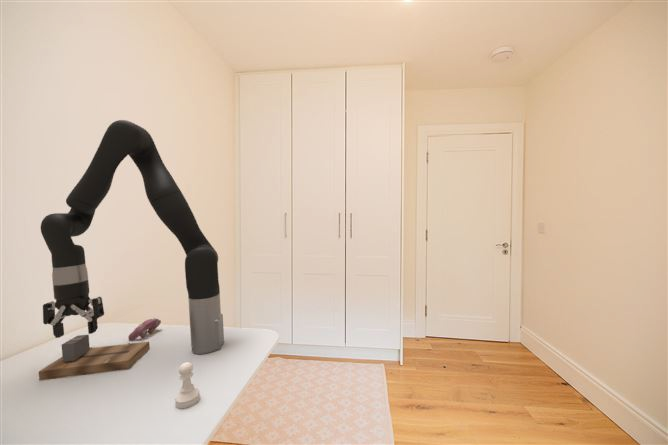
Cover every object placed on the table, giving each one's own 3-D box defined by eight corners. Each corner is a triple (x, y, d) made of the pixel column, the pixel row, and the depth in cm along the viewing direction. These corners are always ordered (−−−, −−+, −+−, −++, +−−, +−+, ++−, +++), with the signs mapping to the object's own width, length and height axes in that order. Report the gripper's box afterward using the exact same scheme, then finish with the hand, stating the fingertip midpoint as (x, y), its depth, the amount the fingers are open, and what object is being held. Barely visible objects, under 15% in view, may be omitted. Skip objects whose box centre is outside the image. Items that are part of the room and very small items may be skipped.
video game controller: (136, 346, 96) (142, 328, 95) (125, 339, 97) (132, 322, 96) (158, 333, 106) (164, 318, 105) (149, 328, 106) (155, 312, 106)
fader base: (149, 348, 90) (149, 340, 90) (129, 369, 78) (128, 359, 78) (73, 357, 86) (72, 349, 86) (39, 380, 74) (38, 370, 74)
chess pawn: (194, 391, 66) (192, 355, 66) (203, 399, 63) (201, 361, 63) (171, 403, 63) (169, 364, 62) (180, 412, 59) (178, 372, 59)
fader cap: (89, 350, 84) (88, 334, 84) (74, 360, 78) (73, 343, 78) (78, 351, 84) (77, 335, 83) (62, 361, 78) (61, 344, 77)
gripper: (106, 275, 85) (111, 326, 86) (54, 280, 83) (59, 332, 83) (89, 281, 78) (94, 337, 78) (31, 286, 75) (36, 343, 76)
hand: (76, 334), depth 81 cm, fingers open, 8 cm apart
